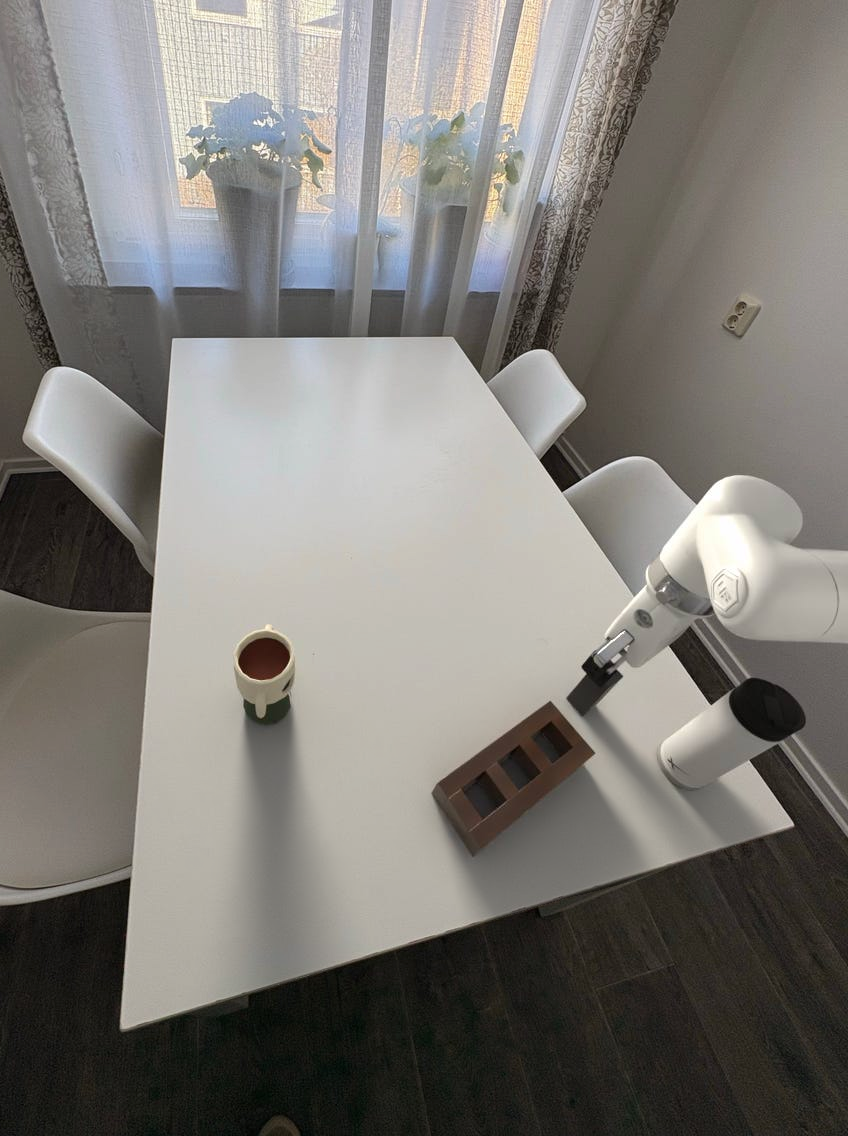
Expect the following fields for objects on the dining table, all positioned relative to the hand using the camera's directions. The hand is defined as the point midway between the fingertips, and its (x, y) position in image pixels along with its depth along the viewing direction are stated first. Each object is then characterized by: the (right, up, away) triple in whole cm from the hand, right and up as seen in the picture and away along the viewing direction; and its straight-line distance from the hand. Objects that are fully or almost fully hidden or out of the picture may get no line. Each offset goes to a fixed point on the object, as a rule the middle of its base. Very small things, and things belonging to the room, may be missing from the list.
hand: (616, 658), depth 67 cm
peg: (-1, -9, +8) cm, 12 cm away
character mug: (-45, -7, +4) cm, 46 cm away
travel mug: (+10, -16, +3) cm, 19 cm away
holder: (-14, -15, 0) cm, 20 cm away
